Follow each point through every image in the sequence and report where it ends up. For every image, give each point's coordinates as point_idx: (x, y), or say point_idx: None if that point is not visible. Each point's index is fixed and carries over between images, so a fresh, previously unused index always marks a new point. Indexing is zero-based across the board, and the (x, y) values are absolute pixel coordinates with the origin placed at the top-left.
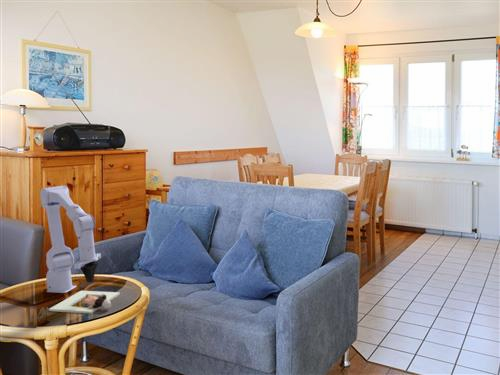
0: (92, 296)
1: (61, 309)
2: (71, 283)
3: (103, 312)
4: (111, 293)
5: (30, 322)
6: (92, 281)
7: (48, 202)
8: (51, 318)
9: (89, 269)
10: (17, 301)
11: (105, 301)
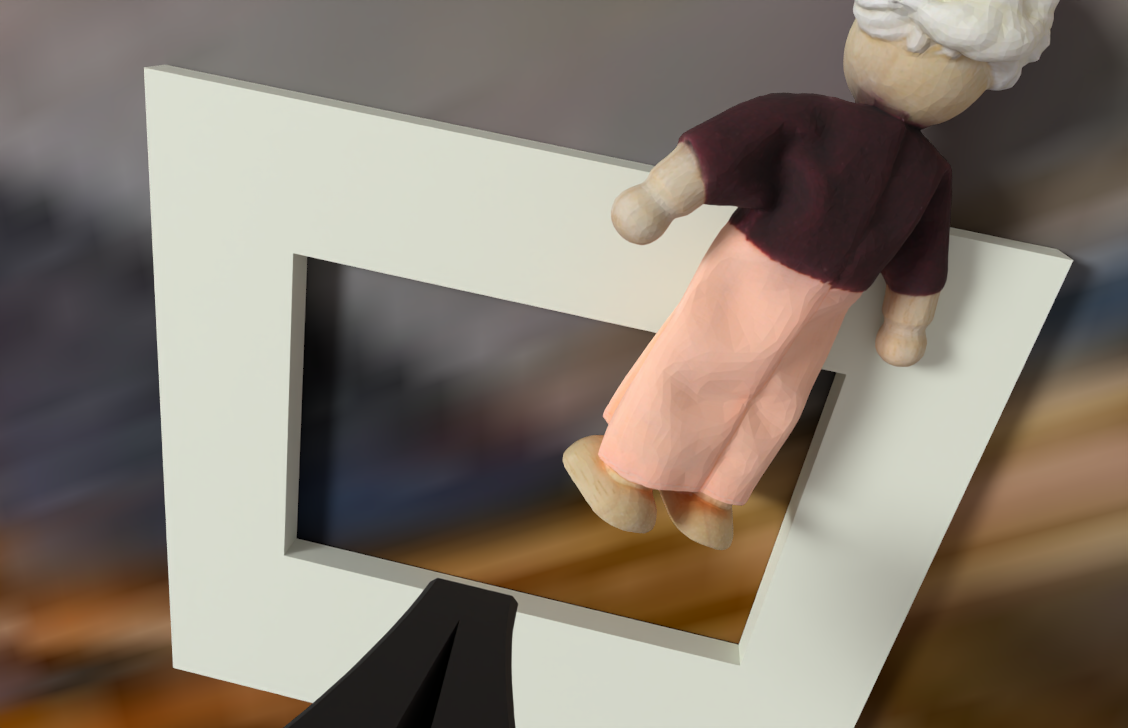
0: (673, 409)
1: (856, 699)
2: None
3: (1050, 35)
4: (210, 209)
5: None
6: (475, 590)
7: None
8: (1086, 721)
9: None
10: None
11: (1027, 17)
